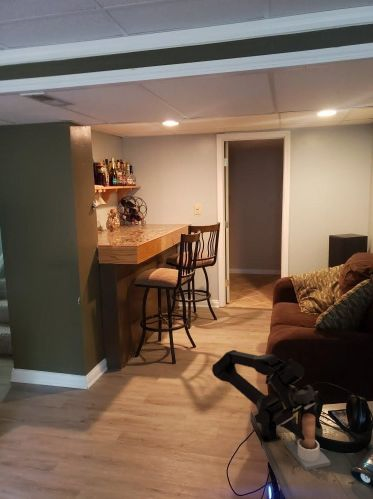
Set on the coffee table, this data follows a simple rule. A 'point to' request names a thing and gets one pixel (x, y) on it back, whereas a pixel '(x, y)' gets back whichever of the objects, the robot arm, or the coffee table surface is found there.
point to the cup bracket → (307, 455)
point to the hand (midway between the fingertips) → (312, 434)
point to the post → (308, 431)
